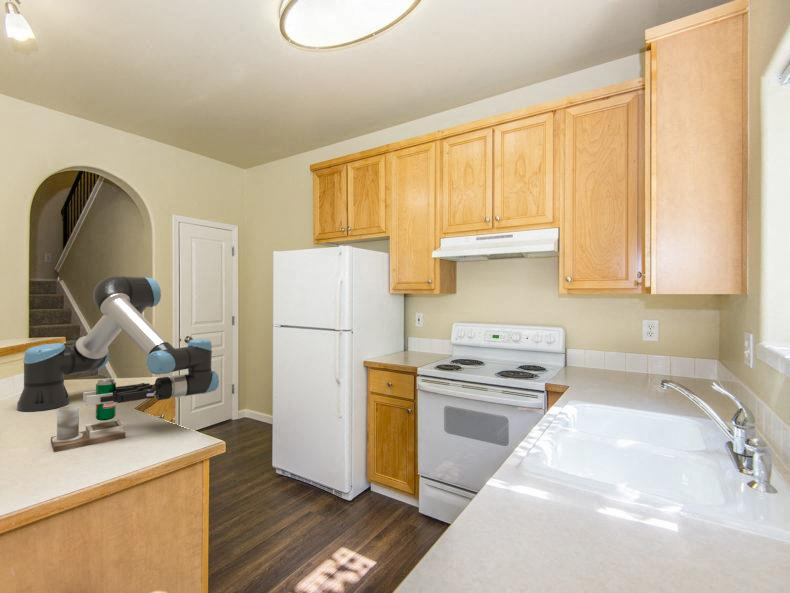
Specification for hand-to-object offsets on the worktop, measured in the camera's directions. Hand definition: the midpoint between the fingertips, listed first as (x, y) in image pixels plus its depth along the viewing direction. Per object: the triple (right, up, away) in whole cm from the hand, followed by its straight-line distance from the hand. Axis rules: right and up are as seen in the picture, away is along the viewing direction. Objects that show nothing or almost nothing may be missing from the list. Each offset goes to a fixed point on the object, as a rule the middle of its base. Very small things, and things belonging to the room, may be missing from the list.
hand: (85, 399), depth 122 cm
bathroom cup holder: (0, -13, +1) cm, 13 cm away
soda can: (+4, -7, +4) cm, 9 cm away
